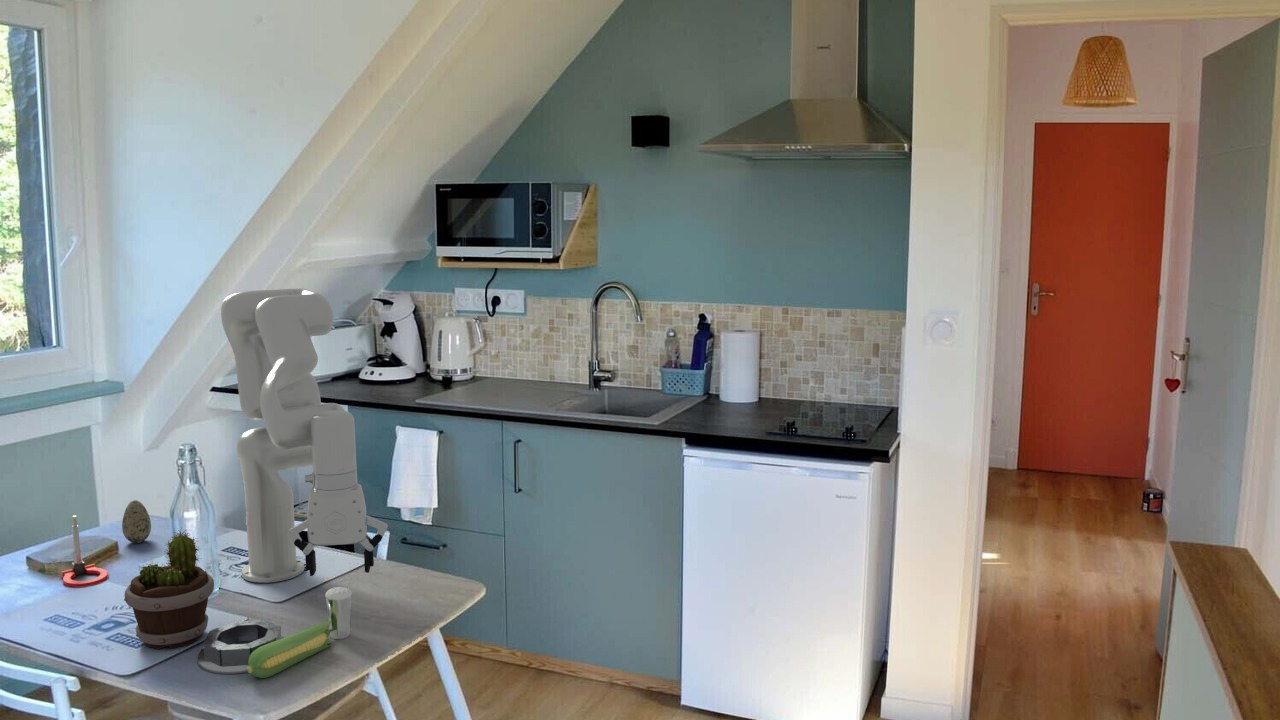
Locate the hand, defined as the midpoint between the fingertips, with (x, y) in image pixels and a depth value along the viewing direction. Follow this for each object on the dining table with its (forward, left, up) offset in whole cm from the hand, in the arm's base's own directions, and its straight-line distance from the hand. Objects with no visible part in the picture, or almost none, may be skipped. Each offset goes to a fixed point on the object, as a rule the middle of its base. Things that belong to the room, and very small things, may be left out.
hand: (340, 571), depth 191 cm
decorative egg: (-59, -52, -13) cm, 79 cm away
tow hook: (-37, -56, -13) cm, 68 cm away
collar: (+5, -16, -12) cm, 21 cm away
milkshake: (-1, 0, -13) cm, 13 cm away
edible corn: (+9, -7, -13) cm, 17 cm away
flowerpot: (-4, -30, -13) cm, 33 cm away
